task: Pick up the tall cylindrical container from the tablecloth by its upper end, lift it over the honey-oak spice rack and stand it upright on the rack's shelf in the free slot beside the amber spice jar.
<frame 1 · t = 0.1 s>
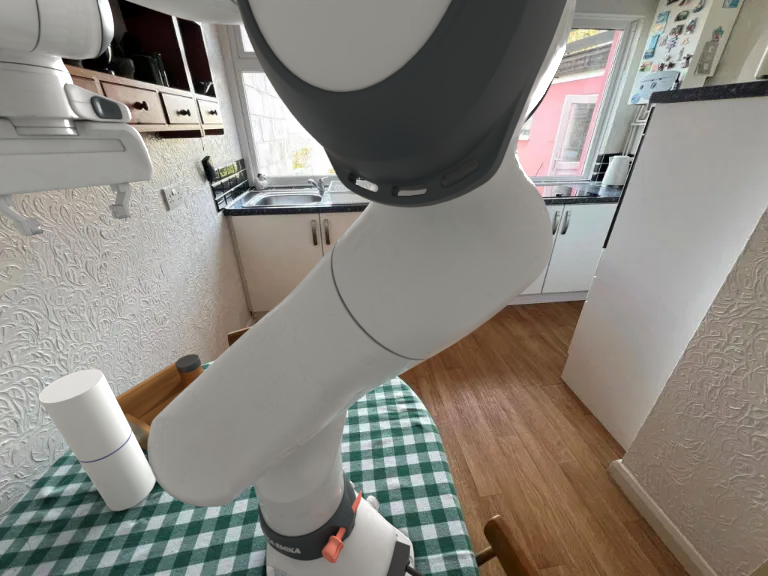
hand: (81, 225, 40), 48 cm above the table, tool pointing down, fingers open, 8 cm apart
cylindrical container: (132, 490, 57), on the table
spice rack: (186, 423, 71), on the table
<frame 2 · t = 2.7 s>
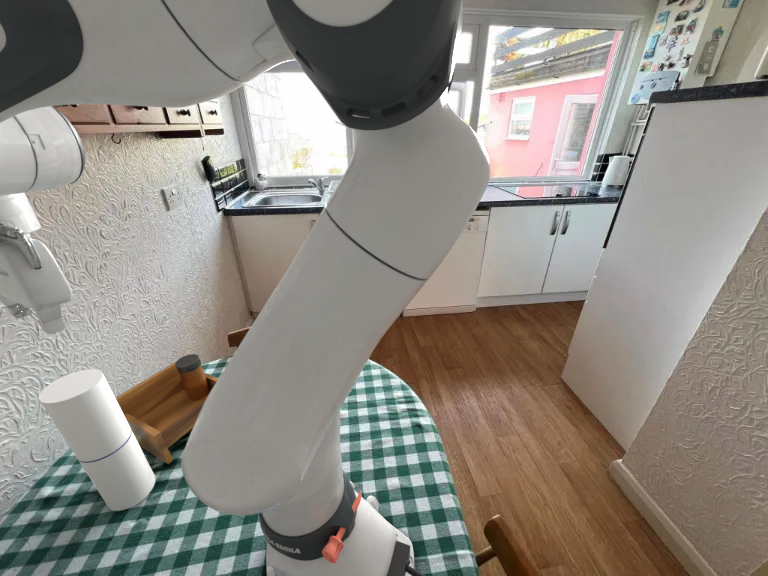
hand: (38, 322, 42), 36 cm above the table, tool pointing down, fingers open, 8 cm apart
nothing on the table moved.
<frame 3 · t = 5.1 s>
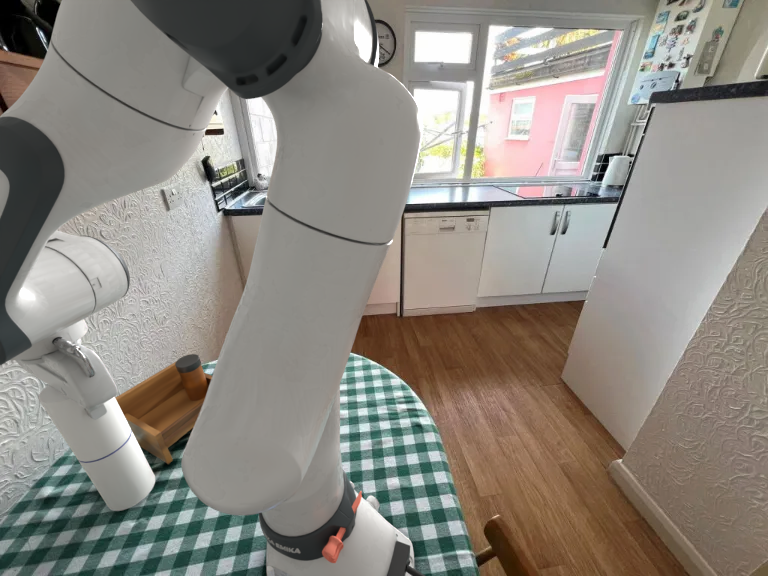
hand: (84, 405, 48), 21 cm above the table, tool pointing down, fingers closed on cylindrical container, 7 cm apart
cylindrical container: (132, 490, 57), on the table, touching gripper
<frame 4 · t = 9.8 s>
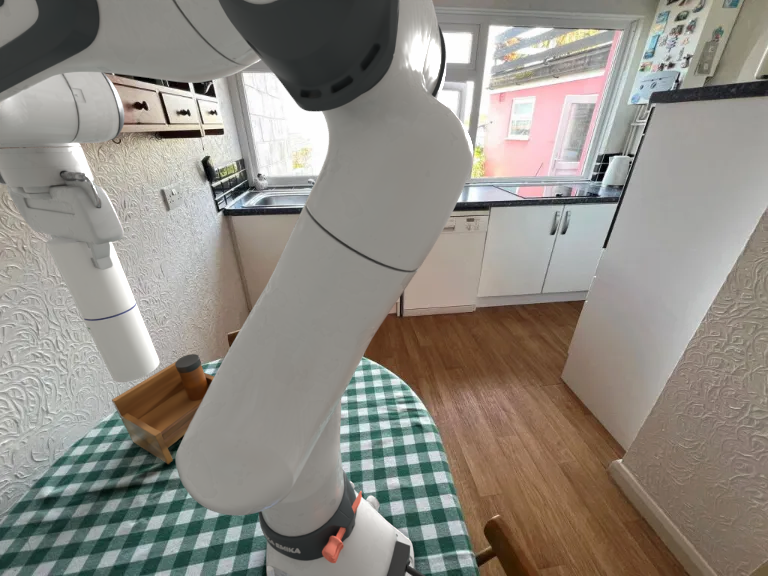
hand: (90, 264, 49), 40 cm above the table, tool pointing down, fingers closed on cylindrical container, 7 cm apart
cylindrical container: (137, 369, 58), point 20 cm above the table, touching gripper
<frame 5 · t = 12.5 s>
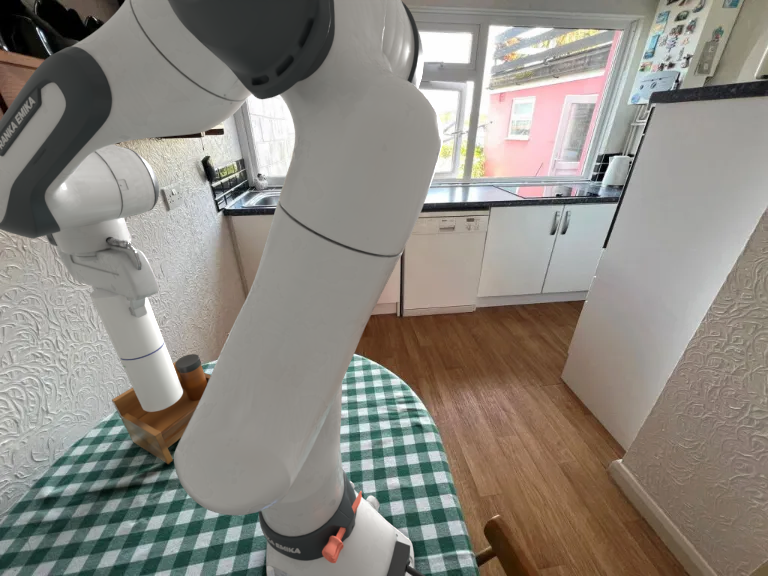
hand: (126, 310, 56), 31 cm above the table, tool pointing down, fingers closed on cylindrical container, 7 cm apart
cylindrical container: (163, 399, 64), point 10 cm above the table, touching gripper
when the fingers open (26 cm above the table, at t = 14.6 s): cylindrical container stays where it is, resting on spice rack.
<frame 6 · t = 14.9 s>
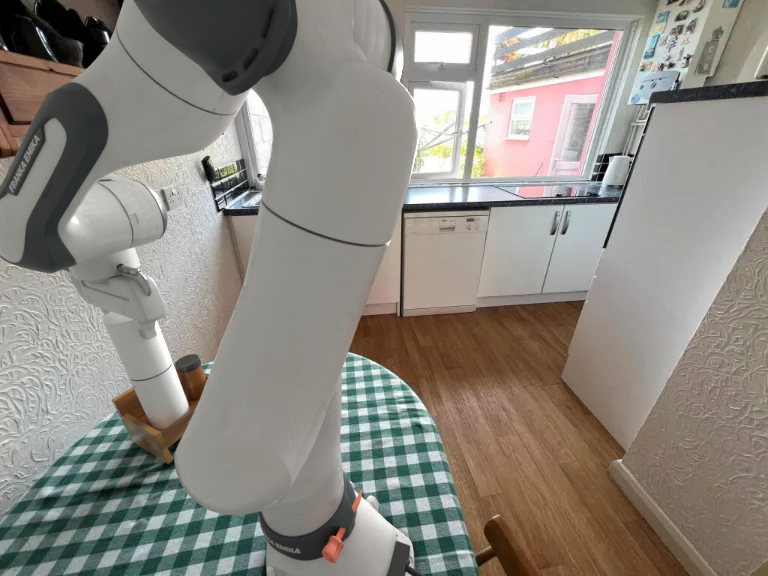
hand: (134, 331, 58), 26 cm above the table, tool pointing down, fingers open, 8 cm apart
cylindrical container: (170, 415, 67), point 5 cm above the table, touching spice rack
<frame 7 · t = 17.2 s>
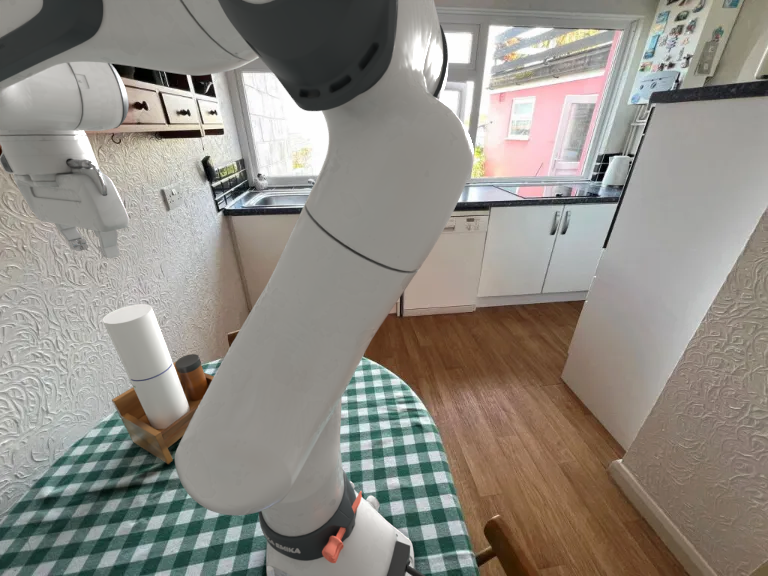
hand: (95, 253, 50), 42 cm above the table, tool pointing down, fingers open, 8 cm apart
nothing on the table moved.
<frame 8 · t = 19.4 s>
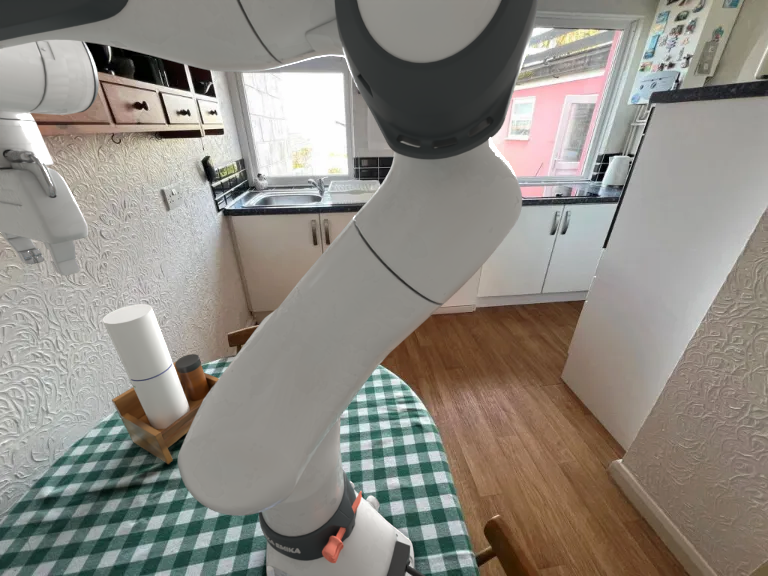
hand: (51, 267, 40), 43 cm above the table, tool pointing down, fingers open, 8 cm apart
nothing on the table moved.
at the end: cylindrical container inside the target area on the spice rack (0.2 cm from its centre), point 4.8 cm above the spice rack's base; cylindrical container tilted 0°; the gripper is holding nothing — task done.
